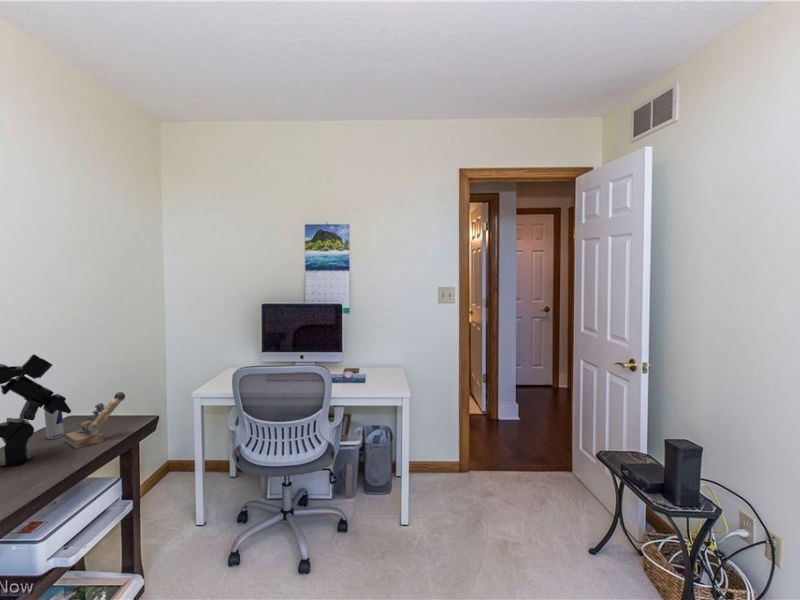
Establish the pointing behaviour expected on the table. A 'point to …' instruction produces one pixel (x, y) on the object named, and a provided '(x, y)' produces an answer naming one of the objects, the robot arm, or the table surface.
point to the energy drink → (54, 424)
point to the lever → (108, 409)
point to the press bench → (85, 436)
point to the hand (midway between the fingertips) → (70, 412)
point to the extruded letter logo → (96, 412)
